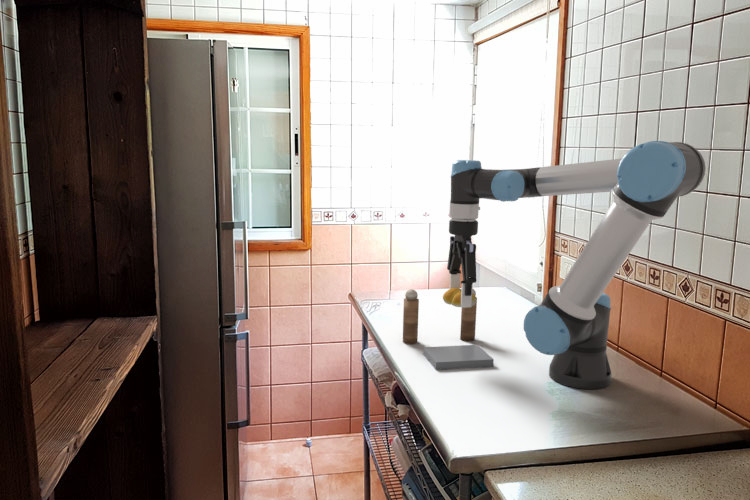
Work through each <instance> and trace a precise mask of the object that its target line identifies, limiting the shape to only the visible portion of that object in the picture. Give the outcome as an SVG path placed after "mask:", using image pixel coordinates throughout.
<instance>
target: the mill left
mask: <svg viewBox="0 0 750 500" xmlns="http://www.w3.org/2000/svg"><path fill="white" fill-rule="evenodd" d="M404 295H405V298H403V314H402V317H403V318H402V343H403V344H406V345H415V344H417V343H418V338H419V337H418V336H419V335H418V333H419V310H420V309H419V303H420V301H419V300H420V299H419V298H418V293H417V291H416V290H415V289H411V288H410V289H408V290H406V292H405V294H404Z"/></svg>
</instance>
